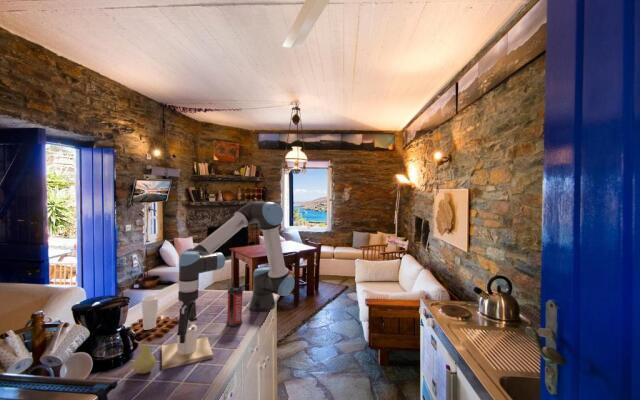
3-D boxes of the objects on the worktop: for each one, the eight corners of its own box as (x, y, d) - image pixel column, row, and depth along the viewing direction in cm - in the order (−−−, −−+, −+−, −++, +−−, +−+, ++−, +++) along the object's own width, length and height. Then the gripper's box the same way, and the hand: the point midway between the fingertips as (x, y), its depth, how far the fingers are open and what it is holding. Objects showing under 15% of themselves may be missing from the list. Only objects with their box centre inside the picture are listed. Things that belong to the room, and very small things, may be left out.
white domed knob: (173, 353, 117) (173, 329, 117) (185, 344, 124) (185, 321, 124) (188, 355, 115) (189, 331, 115) (199, 346, 123) (200, 323, 122)
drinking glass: (159, 329, 140) (160, 298, 140) (143, 333, 135) (144, 301, 135) (154, 324, 145) (155, 294, 145) (139, 328, 140) (140, 297, 140)
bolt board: (206, 340, 131) (207, 323, 131) (212, 358, 117) (213, 339, 117) (161, 349, 122) (162, 331, 122) (162, 369, 108) (162, 349, 108)
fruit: (149, 378, 103) (150, 344, 103) (127, 378, 103) (128, 344, 103) (158, 367, 110) (159, 335, 110) (137, 367, 109) (138, 335, 109)
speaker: (237, 319, 154) (238, 285, 154) (245, 324, 149) (246, 289, 149) (223, 323, 149) (225, 288, 149) (231, 328, 143) (232, 292, 143)
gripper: (187, 281, 130) (185, 330, 130) (168, 299, 108) (167, 358, 108) (204, 281, 131) (203, 330, 131) (190, 299, 109) (188, 357, 109)
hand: (187, 343), depth 120 cm, fingers open, 10 cm apart
